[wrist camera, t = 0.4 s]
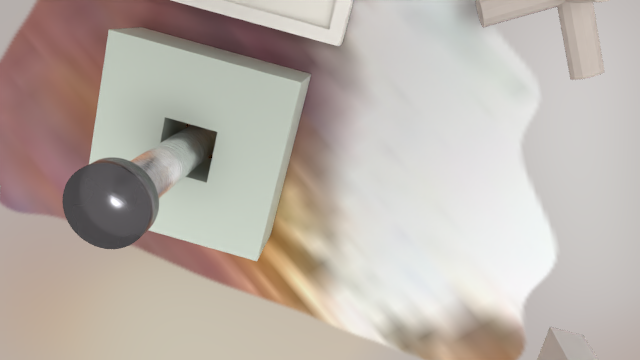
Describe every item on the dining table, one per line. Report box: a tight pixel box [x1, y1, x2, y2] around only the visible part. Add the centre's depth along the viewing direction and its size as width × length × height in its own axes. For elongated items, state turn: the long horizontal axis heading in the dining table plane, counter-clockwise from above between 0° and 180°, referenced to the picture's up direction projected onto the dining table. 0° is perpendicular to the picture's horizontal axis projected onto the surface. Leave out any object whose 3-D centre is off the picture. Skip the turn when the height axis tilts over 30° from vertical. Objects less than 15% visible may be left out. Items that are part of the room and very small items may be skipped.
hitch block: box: [89, 27, 311, 261], centre depth 39 cm, size 12×12×5 cm
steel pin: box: [63, 125, 217, 249], centre depth 34 cm, size 4×4×16 cm
